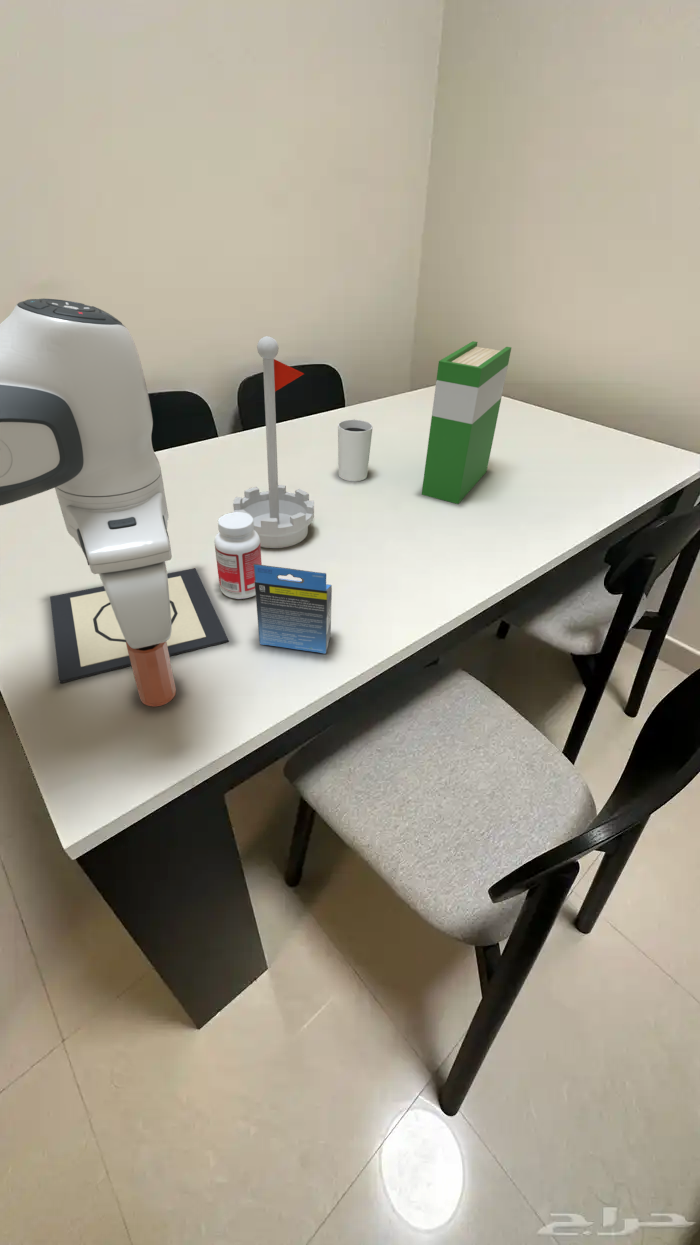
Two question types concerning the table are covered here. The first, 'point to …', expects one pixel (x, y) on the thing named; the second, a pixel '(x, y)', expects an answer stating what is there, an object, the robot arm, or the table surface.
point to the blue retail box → (293, 608)
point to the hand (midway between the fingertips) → (142, 625)
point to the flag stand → (276, 469)
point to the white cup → (354, 449)
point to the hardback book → (463, 420)
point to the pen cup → (153, 674)
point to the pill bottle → (237, 554)
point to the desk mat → (98, 641)
